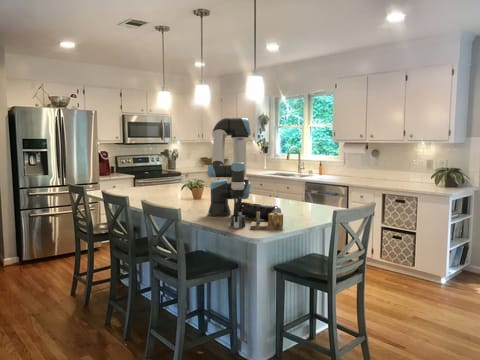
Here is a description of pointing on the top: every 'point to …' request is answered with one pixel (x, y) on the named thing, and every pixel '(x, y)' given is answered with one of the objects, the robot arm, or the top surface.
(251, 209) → the muzzle brake
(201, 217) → the top surface
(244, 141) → the robot arm
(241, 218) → the steel gear
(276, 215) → the gear board
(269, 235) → the top surface
